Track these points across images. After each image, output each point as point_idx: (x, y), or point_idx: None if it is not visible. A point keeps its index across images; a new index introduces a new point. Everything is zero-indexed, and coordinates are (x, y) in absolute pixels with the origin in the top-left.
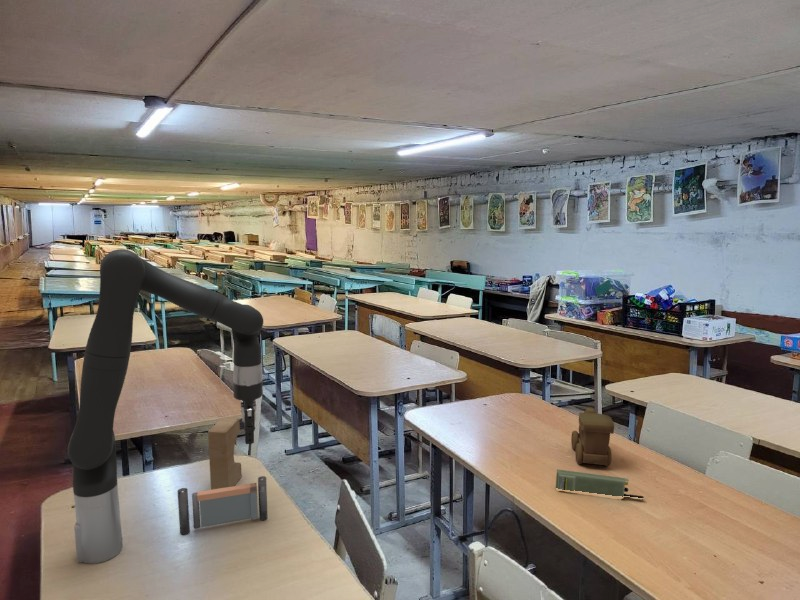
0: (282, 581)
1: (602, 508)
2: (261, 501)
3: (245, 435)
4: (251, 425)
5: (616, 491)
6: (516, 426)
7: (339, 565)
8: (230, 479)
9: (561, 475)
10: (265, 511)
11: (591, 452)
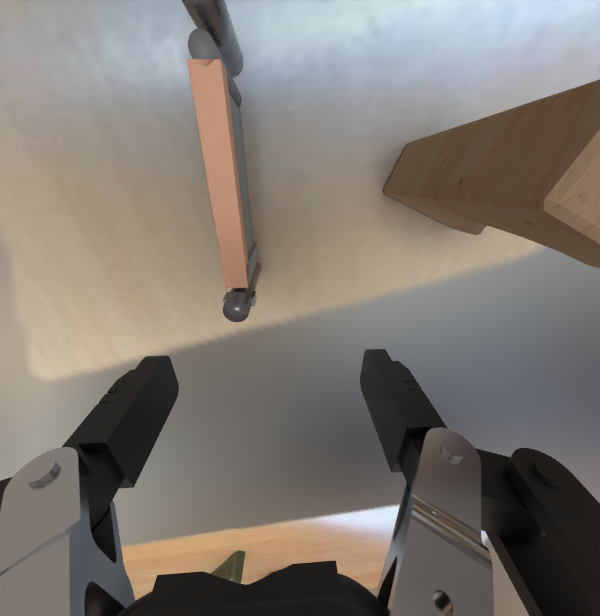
0: (46, 287)
1: (200, 563)
2: None
3: (110, 404)
4: (370, 410)
5: None
6: (385, 557)
7: (98, 368)
8: (409, 201)
9: (231, 579)
10: None
11: None
